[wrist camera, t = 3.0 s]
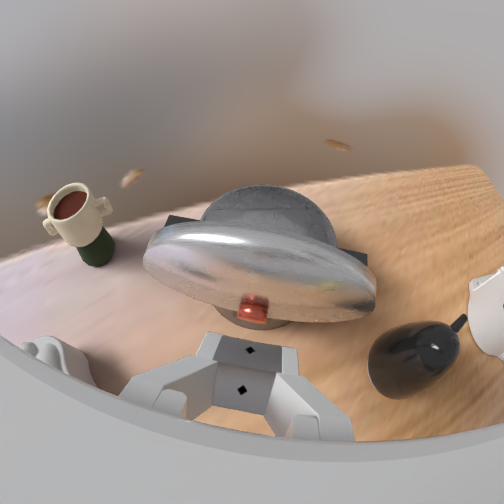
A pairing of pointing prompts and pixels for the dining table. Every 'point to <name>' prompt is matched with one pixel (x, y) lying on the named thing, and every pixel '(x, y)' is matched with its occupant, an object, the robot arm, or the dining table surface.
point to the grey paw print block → (60, 357)
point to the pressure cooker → (269, 225)
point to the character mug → (81, 222)
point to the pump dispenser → (413, 357)
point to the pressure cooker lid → (261, 272)
